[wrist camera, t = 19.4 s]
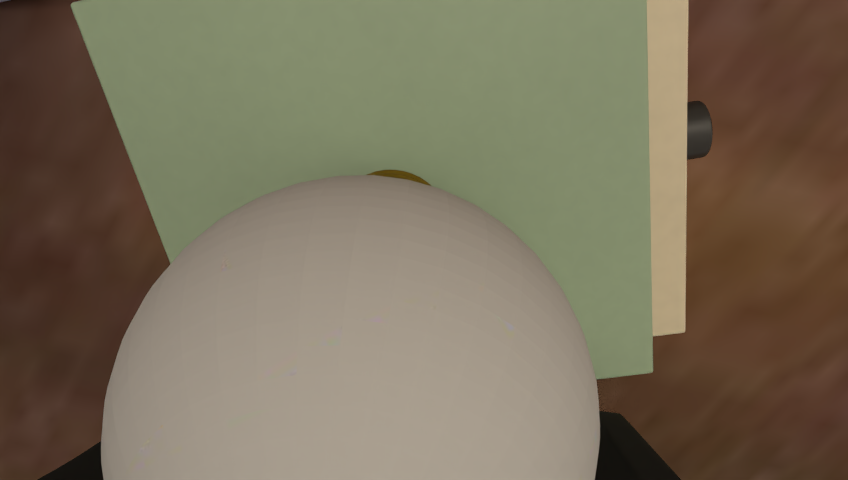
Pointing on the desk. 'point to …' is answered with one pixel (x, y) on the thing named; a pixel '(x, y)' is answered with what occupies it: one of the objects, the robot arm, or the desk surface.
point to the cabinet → (403, 122)
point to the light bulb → (354, 348)
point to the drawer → (670, 157)
